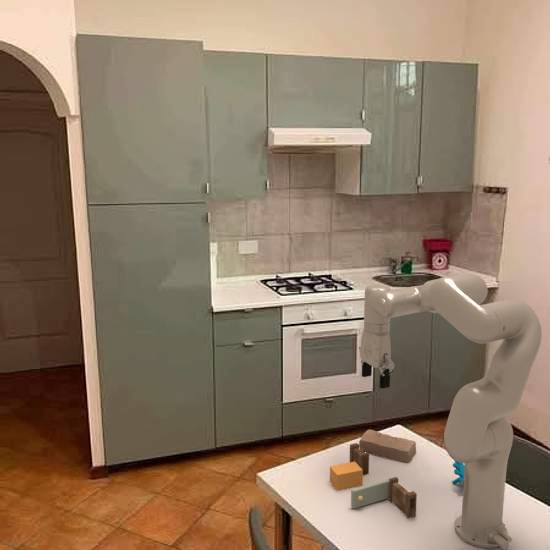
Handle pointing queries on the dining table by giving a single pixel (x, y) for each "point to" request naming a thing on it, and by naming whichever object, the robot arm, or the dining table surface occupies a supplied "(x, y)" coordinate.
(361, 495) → the door
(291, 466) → the dining table surface
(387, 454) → the brick
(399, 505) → the wall frame
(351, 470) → the orange rectangular block
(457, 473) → the blue green toy
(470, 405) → the robot arm
